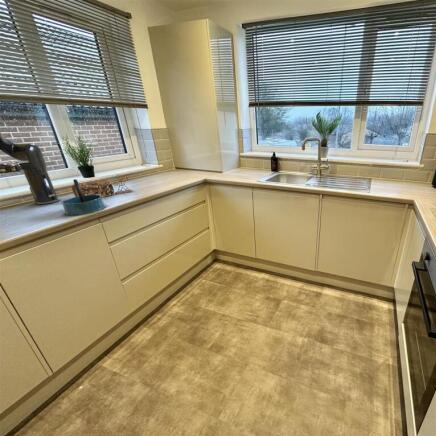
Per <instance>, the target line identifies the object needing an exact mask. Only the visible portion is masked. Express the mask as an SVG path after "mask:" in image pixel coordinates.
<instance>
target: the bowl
mask: <svg viewBox="0 0 436 436" xmlns="http://www.w3.org/2000/svg"><path fill="white" fill-rule="evenodd" d="M83 197H84V200H85V202H82V203H81V200H80V198H79V197H75V196H74V197H70V198H67V199H64V200H62V201H61V205H62V207H63V210H64V212H65V214H66V215H67V216H81V215H88V214H93V213H96V212H99V211H101V210H103V209H104V208H105V207H106V205H105V202H104V199H103V197H102V196H101V195H85V196H83Z"/></svg>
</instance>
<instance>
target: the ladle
mask: <svg viewBox="0 0 436 436" xmlns="http://www.w3.org/2000/svg"><path fill="white" fill-rule="evenodd" d="M79 183H80V182H79V181H78V179H76V178H74V179H73V185H74V184H75V187H76V190H77V192H78V195H79V198H80V200H81V203H82V202H85V200H84V197H83V195H82V192H81V189H80V186H79Z"/></svg>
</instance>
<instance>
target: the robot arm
mask: <svg viewBox="0 0 436 436" xmlns="http://www.w3.org/2000/svg"><path fill="white" fill-rule="evenodd" d="M0 152H2V153H4V154H5V155H7V156H9V157H11V158H13V159H14V160H16V162H2V163H0V174H1V175H3V174H10V173H21V172H22V173H23V174H24V177H25V180H26V182H27V183H28V186H29V188H28V189H29V190H30V193H31V195H32V197H33V200H34V202H35V204H37V205H48V204H53V203H57V202H59V201H60V198H59V197H58V196H57V192H56V190H55V187H54V185H53V183H52V180H51V177H50V176H49V175H50V174H49V173H48V169H47V163H46V160H45V157H44V153H43V152H42V150H41V148H40V146H38V145H37V144H35V143H30V142H29V143H17V142H14V141H12V140H10V139H8V138H6V137H5V136H4V135H3V133H2V132H1V131H0ZM17 161H19V162H17Z"/></svg>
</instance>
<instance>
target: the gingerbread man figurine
mask: <svg viewBox="0 0 436 436" xmlns="http://www.w3.org/2000/svg"><path fill="white" fill-rule="evenodd" d="M115 178H116V180H114V182H113V185H114V186H115V187H118V188H117V191H114V194H115V195H123V194H127V193H133V190H132V189H130V188H129V187H126V188H124V186H126V184H125V183H126V182H128V179H129V178H128V177H126V176H123V175H122V174H120V175H119V174H116V176H115ZM117 181H118V182H117ZM123 181H124V183H122V182H123ZM116 182H117V183H116ZM121 186H122V187H121ZM120 187H121V189H120ZM123 189H124V190H123Z"/></svg>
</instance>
